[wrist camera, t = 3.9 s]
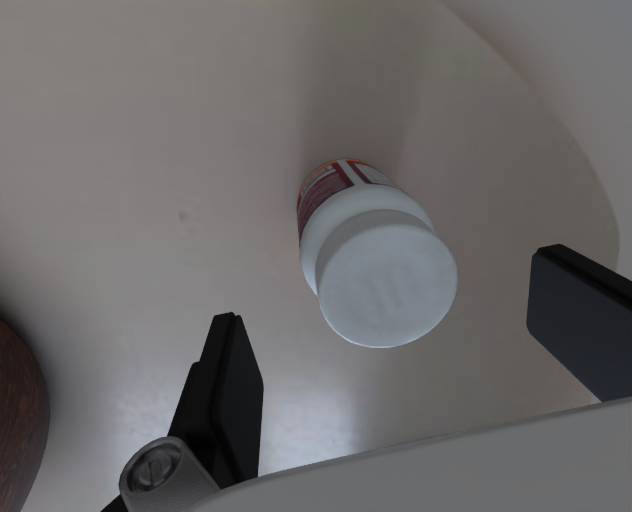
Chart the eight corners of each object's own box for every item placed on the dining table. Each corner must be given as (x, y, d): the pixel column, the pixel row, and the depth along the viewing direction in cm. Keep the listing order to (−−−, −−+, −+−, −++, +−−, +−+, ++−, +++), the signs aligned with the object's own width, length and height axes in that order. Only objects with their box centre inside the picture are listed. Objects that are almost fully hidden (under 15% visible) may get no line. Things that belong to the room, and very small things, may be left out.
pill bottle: (300, 252, 24) (309, 368, 14) (292, 160, 21) (294, 219, 11) (389, 244, 24) (462, 353, 14) (391, 152, 22) (483, 203, 11)
